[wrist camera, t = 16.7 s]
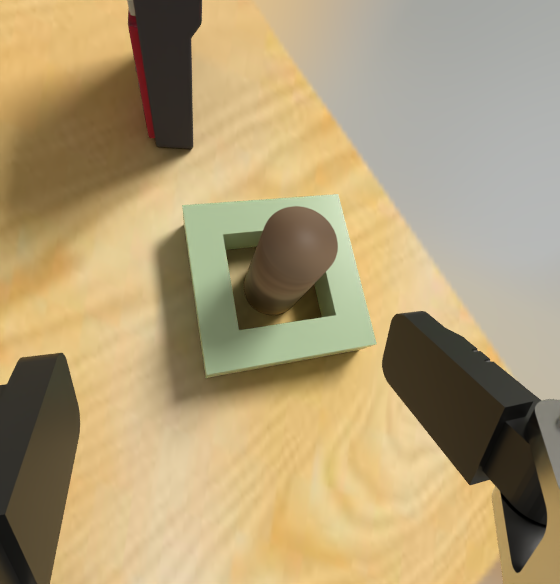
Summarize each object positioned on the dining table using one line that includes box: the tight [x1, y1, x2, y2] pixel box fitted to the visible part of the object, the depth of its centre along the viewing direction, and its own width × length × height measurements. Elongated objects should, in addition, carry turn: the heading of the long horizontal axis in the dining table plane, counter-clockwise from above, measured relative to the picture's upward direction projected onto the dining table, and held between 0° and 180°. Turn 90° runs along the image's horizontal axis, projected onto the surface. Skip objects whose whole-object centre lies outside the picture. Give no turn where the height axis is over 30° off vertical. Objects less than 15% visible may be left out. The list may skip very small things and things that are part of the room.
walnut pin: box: [244, 206, 338, 315], centre depth 26 cm, size 4×4×9 cm
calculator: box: [127, 0, 202, 149], centre depth 26 cm, size 11×4×15 cm, turn 5°
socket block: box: [182, 194, 376, 378], centre depth 28 cm, size 12×12×3 cm
